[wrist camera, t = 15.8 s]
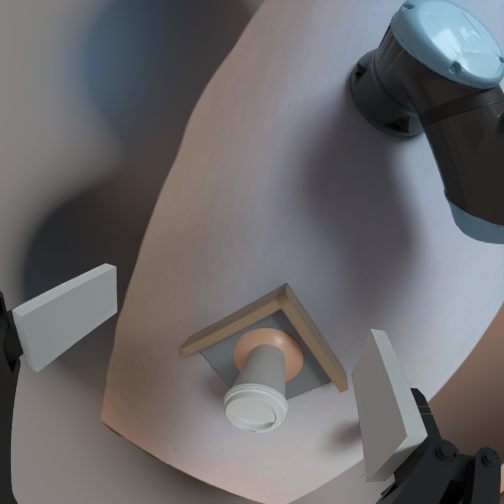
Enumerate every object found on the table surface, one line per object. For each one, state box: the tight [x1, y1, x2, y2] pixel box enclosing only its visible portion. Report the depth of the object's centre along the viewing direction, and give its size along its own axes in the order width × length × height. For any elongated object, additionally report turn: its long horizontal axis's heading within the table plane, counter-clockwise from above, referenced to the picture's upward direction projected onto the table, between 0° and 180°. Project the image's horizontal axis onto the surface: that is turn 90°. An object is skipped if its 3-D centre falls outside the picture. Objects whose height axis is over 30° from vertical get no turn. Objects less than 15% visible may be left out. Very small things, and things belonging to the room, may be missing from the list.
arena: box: [180, 283, 348, 400], centre depth 47 cm, size 22×22×5 cm
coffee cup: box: [223, 344, 288, 433], centre depth 41 cm, size 10×10×15 cm
